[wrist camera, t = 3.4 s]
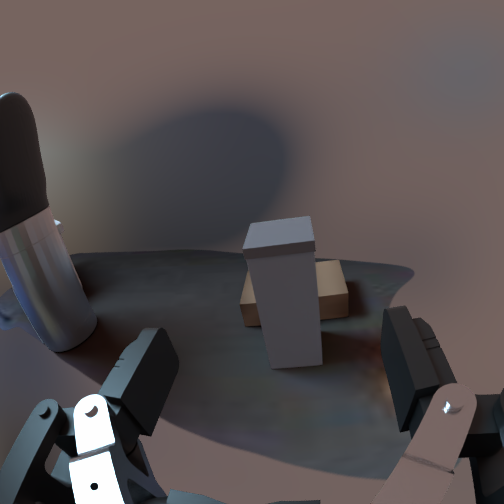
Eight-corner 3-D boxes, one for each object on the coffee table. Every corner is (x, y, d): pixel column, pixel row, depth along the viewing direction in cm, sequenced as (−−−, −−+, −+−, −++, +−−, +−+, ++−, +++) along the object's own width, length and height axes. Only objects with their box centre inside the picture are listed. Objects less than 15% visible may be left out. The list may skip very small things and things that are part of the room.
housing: (269, 369, 25) (242, 249, 20) (273, 334, 29) (250, 223, 24) (323, 365, 24) (314, 240, 19) (320, 330, 28) (309, 215, 23)
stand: (245, 326, 31) (239, 304, 30) (252, 290, 37) (248, 270, 36) (348, 316, 29) (348, 292, 28) (339, 281, 35) (338, 259, 34)
